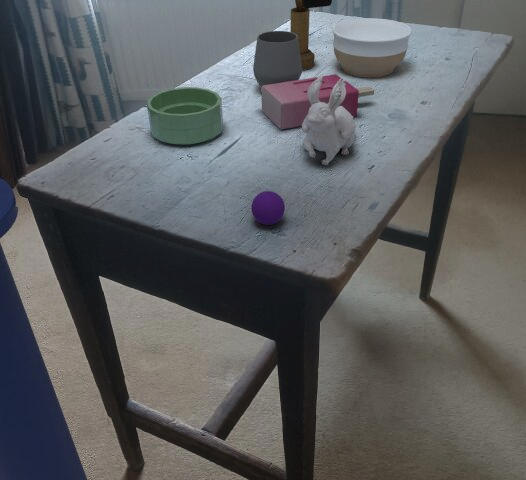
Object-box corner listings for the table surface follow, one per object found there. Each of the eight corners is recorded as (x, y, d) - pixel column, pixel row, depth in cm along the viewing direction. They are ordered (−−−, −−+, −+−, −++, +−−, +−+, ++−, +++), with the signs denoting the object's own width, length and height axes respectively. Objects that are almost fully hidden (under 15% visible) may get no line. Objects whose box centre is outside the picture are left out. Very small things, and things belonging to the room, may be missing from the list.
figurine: (288, 166, 91) (289, 84, 83) (320, 128, 101) (323, 52, 93) (338, 175, 88) (344, 92, 80) (365, 135, 99) (373, 58, 91)
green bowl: (158, 152, 95) (154, 119, 92) (146, 123, 104) (141, 92, 101) (231, 141, 98) (229, 109, 95) (212, 113, 107) (210, 83, 103)
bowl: (360, 51, 133) (363, 13, 128) (421, 67, 124) (427, 27, 119) (314, 69, 124) (316, 29, 119) (376, 87, 115) (381, 45, 110)
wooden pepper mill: (290, 72, 123) (292, -24, 112) (278, 63, 128) (278, -31, 116) (319, 67, 125) (323, -28, 113) (306, 58, 130) (309, -34, 118)
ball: (257, 233, 77) (256, 204, 74) (247, 216, 80) (246, 188, 77) (289, 227, 78) (289, 198, 75) (278, 211, 81) (278, 182, 78)
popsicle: (385, 85, 103) (280, 103, 98) (382, 112, 106) (280, 130, 101) (360, 69, 110) (261, 84, 104) (358, 94, 113) (261, 111, 107)
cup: (294, 79, 120) (294, 27, 113) (307, 96, 113) (309, 41, 106) (248, 84, 118) (247, 31, 112) (259, 101, 111) (258, 46, 105)
